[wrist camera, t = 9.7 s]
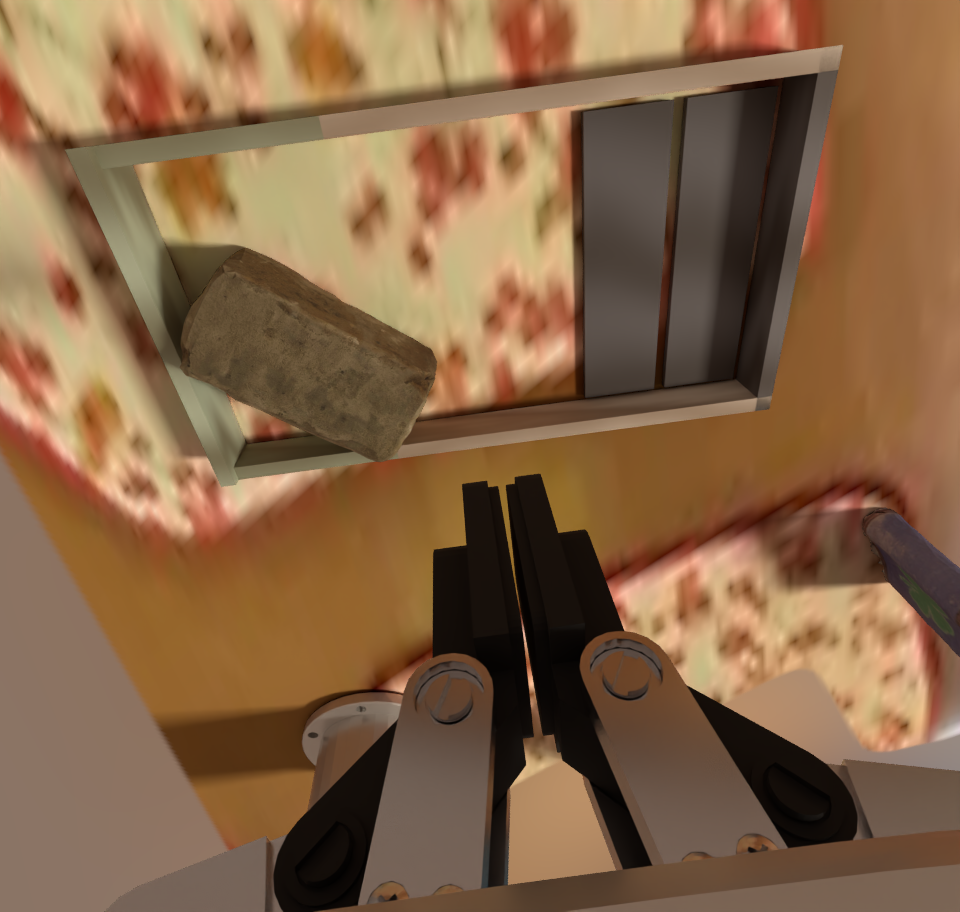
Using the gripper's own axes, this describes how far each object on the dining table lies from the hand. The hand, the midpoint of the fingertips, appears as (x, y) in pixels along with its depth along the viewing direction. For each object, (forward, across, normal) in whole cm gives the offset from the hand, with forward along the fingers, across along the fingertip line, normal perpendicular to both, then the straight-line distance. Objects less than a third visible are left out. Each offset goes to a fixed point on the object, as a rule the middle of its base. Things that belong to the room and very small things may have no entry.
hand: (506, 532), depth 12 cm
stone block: (+19, +8, +2) cm, 21 cm away
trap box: (+19, -1, 0) cm, 19 cm away
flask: (+19, -29, +23) cm, 42 cm away
